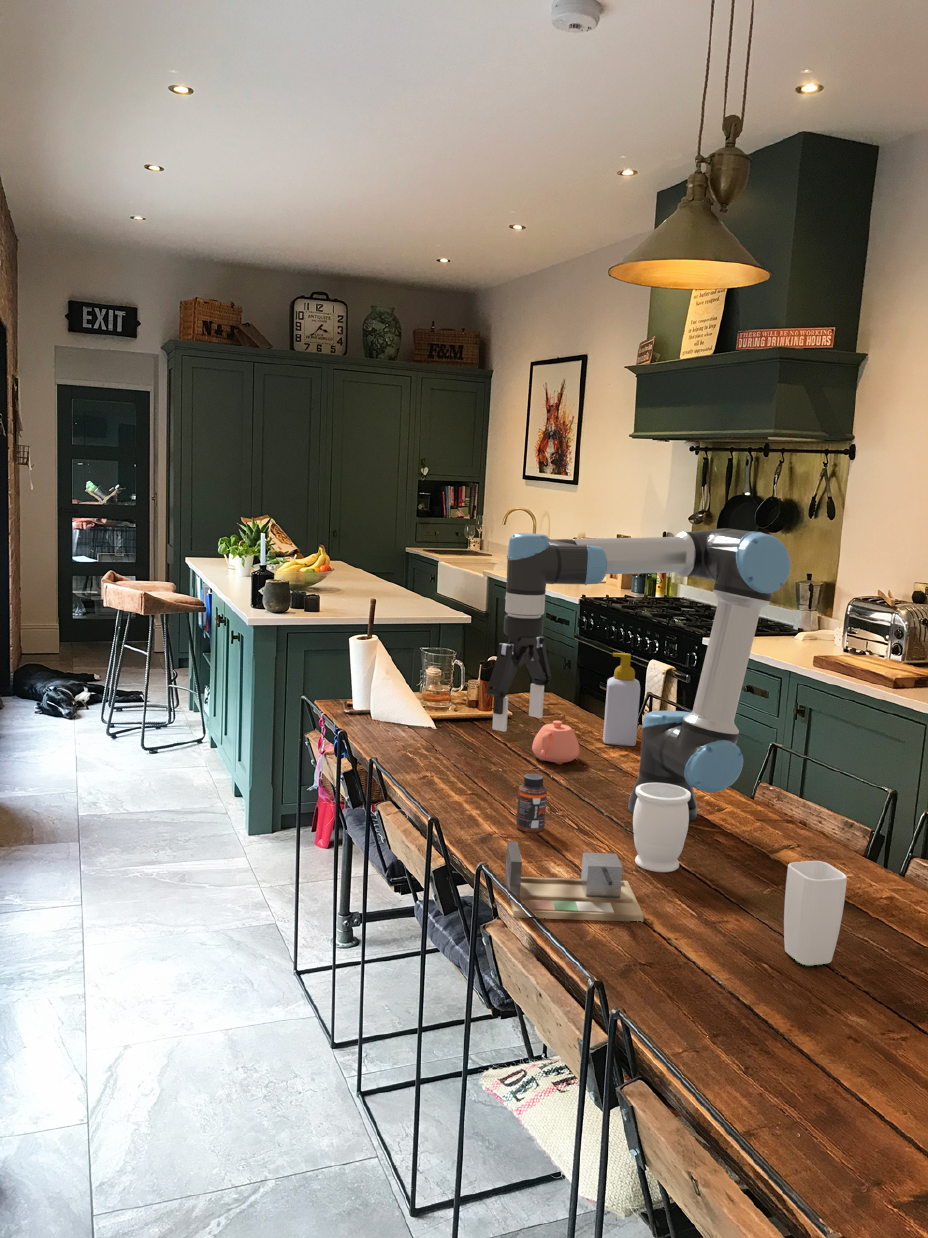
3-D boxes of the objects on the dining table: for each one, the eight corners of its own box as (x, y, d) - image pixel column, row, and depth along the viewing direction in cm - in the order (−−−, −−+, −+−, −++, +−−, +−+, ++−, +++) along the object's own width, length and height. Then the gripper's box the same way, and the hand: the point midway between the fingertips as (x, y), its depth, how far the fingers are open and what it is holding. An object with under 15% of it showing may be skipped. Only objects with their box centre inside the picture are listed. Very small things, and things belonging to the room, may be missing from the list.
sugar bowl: (586, 759, 261) (589, 721, 259) (562, 771, 249) (565, 731, 248) (545, 749, 267) (547, 712, 266) (519, 761, 256) (522, 722, 254)
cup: (801, 972, 153) (811, 881, 151) (774, 950, 160) (783, 862, 158) (841, 968, 155) (852, 878, 153) (813, 946, 162) (822, 859, 160)
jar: (651, 879, 186) (658, 802, 183) (618, 858, 195) (624, 785, 192) (695, 871, 191) (702, 796, 188) (661, 851, 200) (667, 779, 197)
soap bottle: (603, 736, 284) (609, 650, 280) (634, 739, 283) (641, 652, 279) (603, 744, 275) (609, 655, 271) (635, 747, 274) (643, 658, 270)
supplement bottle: (542, 835, 205) (546, 782, 203) (514, 831, 206) (517, 779, 204) (546, 825, 211) (549, 773, 209) (518, 821, 212) (521, 770, 210)
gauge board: (627, 887, 181) (630, 844, 180) (643, 922, 168) (647, 876, 166) (504, 882, 180) (507, 839, 179) (510, 917, 167) (513, 871, 165)
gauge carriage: (613, 885, 179) (616, 853, 178) (625, 913, 168) (628, 879, 167) (580, 884, 178) (583, 852, 177) (590, 912, 167) (593, 878, 166)
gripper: (539, 606, 201) (533, 708, 204) (471, 619, 181) (466, 732, 184) (572, 611, 197) (565, 714, 200) (506, 624, 177) (500, 740, 180)
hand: (517, 723), depth 192 cm, fingers open, 13 cm apart
